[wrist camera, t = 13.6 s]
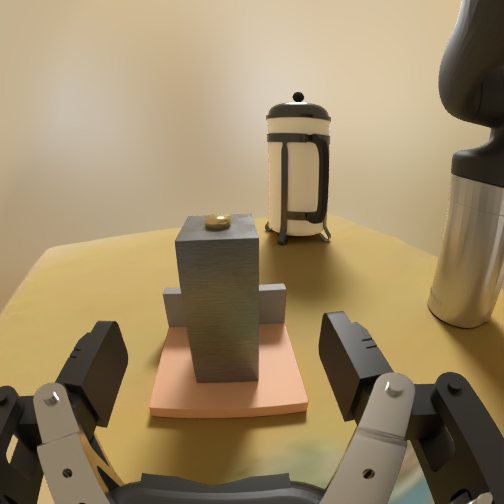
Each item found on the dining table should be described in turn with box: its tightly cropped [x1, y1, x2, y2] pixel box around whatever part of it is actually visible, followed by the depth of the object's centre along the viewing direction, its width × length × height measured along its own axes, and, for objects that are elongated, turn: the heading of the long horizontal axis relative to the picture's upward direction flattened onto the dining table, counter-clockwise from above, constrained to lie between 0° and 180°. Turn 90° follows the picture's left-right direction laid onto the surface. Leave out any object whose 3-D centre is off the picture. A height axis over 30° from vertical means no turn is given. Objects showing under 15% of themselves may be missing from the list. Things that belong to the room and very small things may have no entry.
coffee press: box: [265, 92, 331, 245], centre depth 54 cm, size 17×16×30 cm
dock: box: [149, 284, 308, 418], centre depth 24 cm, size 12×13×6 cm
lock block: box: [175, 214, 259, 383], centre depth 22 cm, size 5×6×13 cm
